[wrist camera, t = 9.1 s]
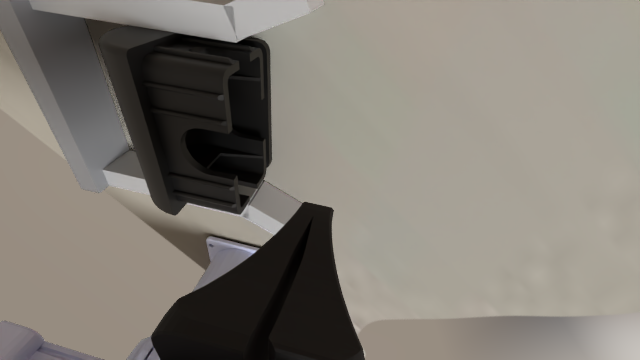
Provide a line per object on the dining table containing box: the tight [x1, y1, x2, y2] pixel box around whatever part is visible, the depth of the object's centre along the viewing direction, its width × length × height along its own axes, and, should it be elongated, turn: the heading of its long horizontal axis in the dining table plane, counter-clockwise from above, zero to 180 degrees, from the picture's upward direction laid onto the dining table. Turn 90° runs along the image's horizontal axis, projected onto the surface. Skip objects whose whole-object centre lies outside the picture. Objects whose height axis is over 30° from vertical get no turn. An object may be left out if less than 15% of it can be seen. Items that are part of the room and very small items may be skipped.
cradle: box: [0, 0, 324, 235], centre depth 20 cm, size 18×17×4 cm
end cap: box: [99, 25, 272, 215], centre depth 19 cm, size 10×7×7 cm
